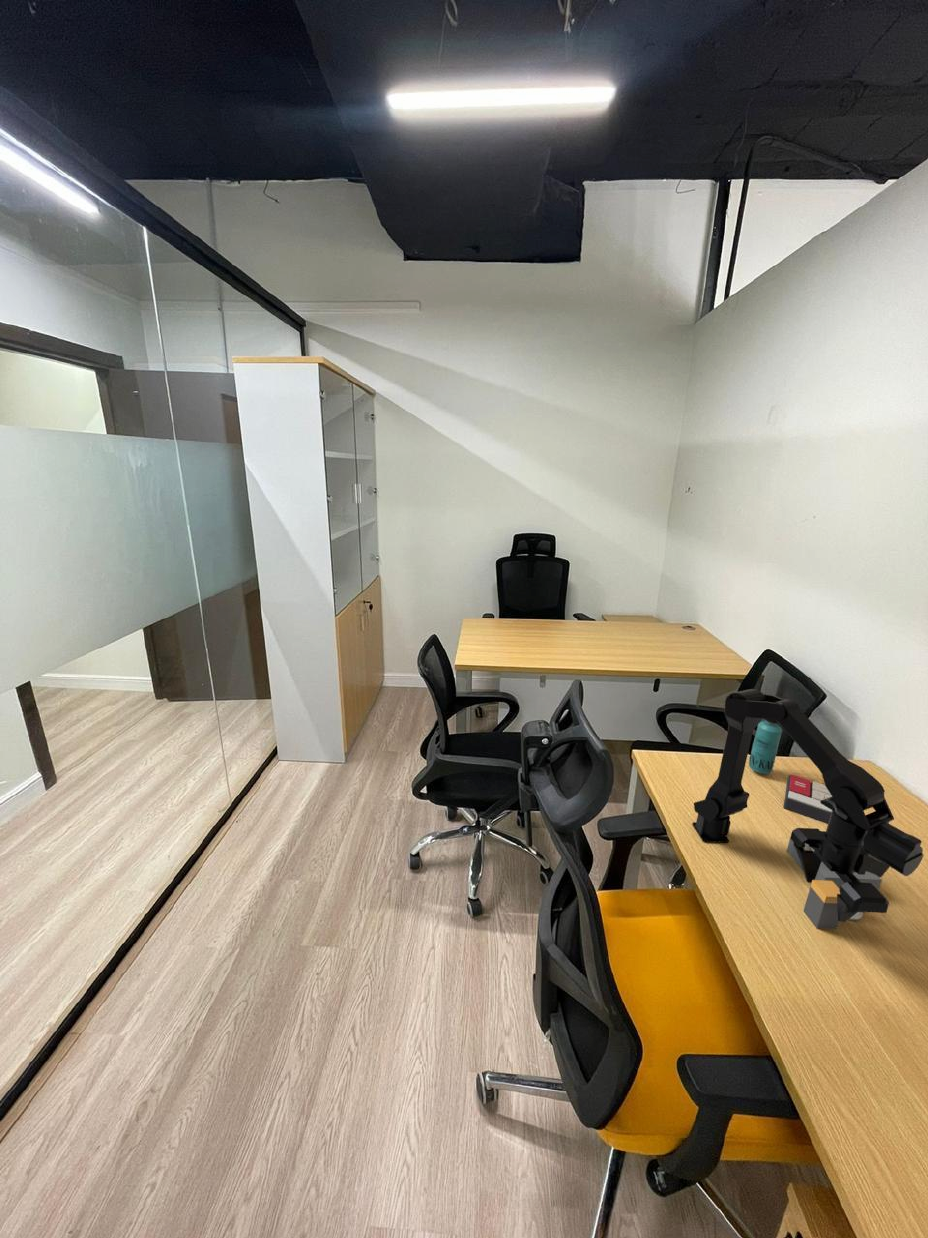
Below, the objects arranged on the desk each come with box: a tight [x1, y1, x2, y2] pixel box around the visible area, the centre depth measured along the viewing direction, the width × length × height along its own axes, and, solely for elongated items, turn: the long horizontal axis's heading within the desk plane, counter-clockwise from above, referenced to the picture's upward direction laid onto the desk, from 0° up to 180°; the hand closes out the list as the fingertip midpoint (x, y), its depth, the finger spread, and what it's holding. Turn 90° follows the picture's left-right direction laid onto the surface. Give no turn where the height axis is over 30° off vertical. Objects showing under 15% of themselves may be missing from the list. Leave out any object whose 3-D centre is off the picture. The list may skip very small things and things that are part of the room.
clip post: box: [847, 912, 864, 922], centre depth 100 cm, size 6×6×5 cm
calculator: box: [782, 774, 832, 825], centre depth 134 cm, size 11×4×15 cm
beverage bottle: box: [748, 719, 783, 775], centre depth 145 cm, size 6×7×20 cm
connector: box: [803, 880, 840, 930], centre depth 97 cm, size 4×4×8 cm
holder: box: [786, 838, 883, 891], centre depth 110 cm, size 12×12×4 cm
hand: (824, 901), depth 97 cm, fingers open, 9 cm apart
